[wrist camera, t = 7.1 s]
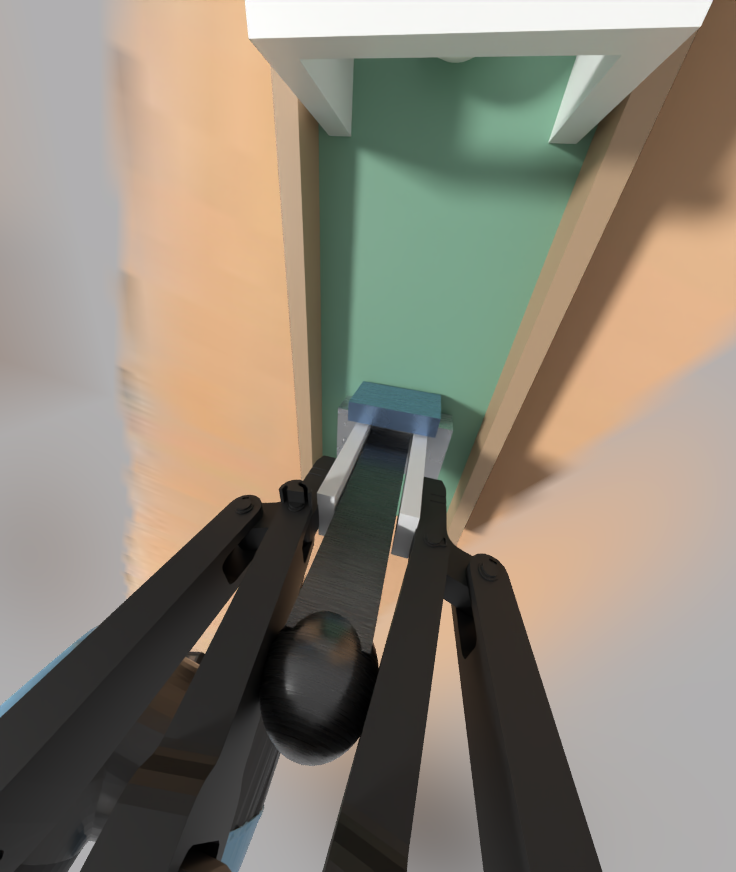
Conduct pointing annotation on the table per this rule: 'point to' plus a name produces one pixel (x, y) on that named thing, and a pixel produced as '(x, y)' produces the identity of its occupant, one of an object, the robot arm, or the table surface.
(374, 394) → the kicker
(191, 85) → the table surface
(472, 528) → the table surface
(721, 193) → the table surface
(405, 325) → the pitch
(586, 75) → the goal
